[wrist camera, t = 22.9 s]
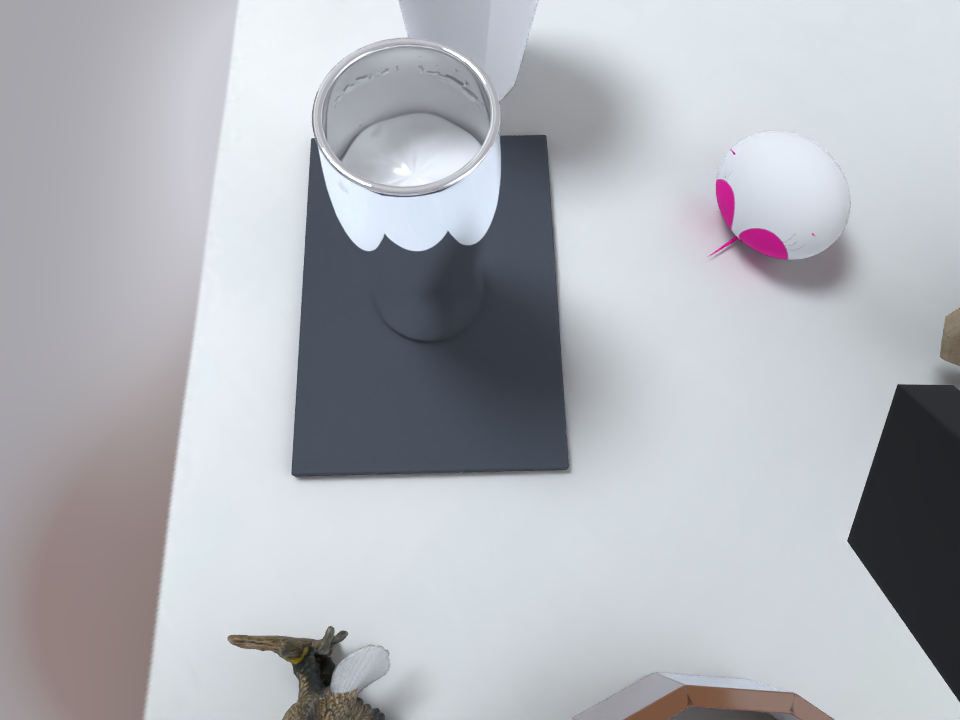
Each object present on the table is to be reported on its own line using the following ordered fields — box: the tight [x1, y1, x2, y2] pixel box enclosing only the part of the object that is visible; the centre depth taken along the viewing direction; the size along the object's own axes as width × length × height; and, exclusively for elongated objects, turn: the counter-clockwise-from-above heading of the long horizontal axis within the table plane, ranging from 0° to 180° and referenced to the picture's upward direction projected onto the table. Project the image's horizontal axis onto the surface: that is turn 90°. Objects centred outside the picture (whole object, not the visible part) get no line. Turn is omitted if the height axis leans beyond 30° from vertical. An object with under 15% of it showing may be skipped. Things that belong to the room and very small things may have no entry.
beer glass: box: [312, 38, 502, 342], centre depth 31 cm, size 7×7×15 cm
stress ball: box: [708, 131, 851, 260], centre depth 39 cm, size 8×8×7 cm
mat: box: [292, 135, 569, 476], centre depth 39 cm, size 20×14×1 cm
